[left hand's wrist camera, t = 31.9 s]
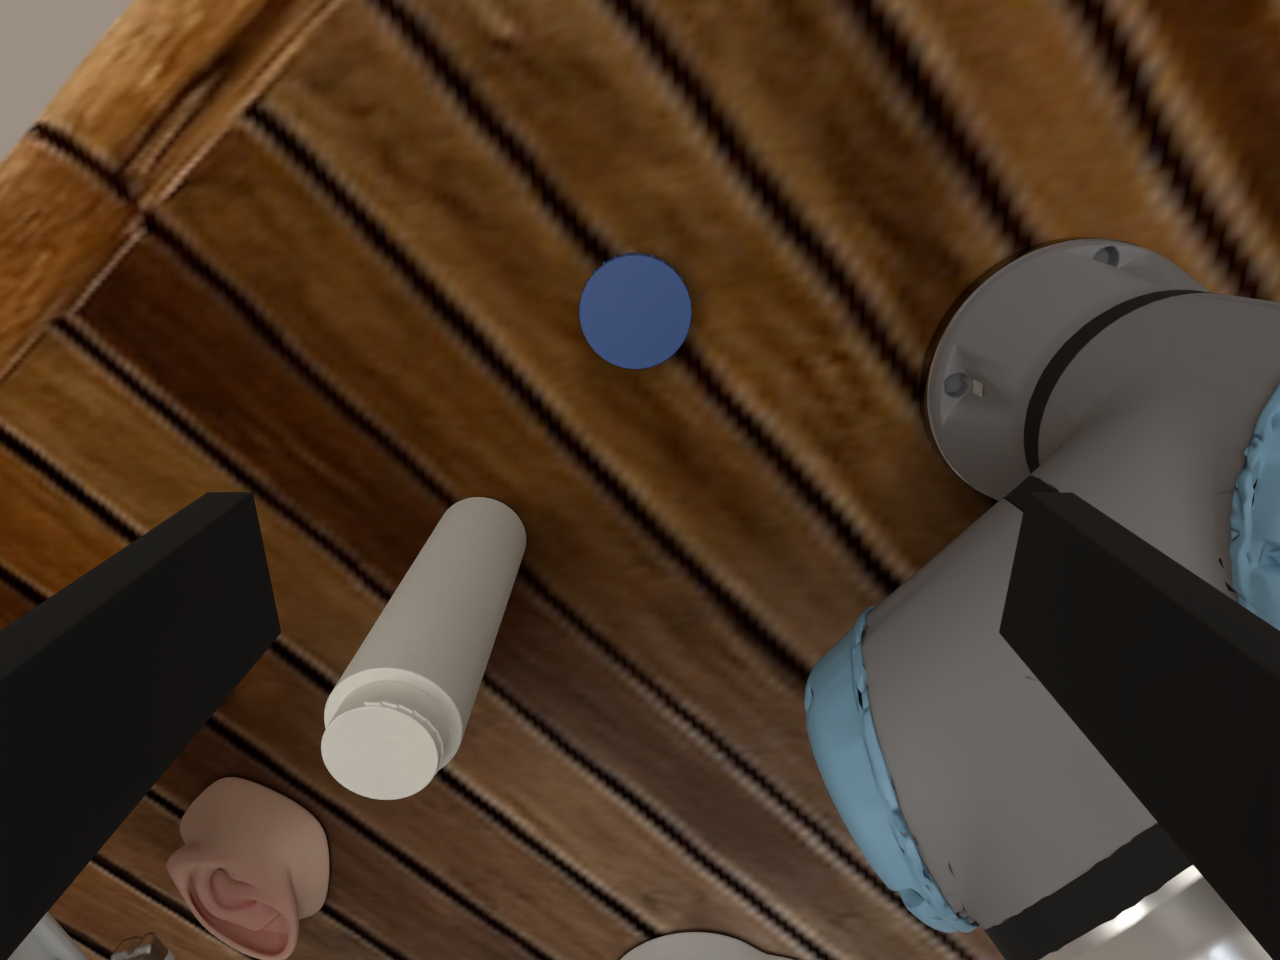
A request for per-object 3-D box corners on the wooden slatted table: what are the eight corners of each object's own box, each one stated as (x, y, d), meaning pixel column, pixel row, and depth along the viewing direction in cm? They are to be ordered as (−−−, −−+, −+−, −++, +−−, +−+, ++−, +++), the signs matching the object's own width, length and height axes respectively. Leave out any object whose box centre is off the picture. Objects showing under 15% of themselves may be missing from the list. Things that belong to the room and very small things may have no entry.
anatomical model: (155, 807, 48) (327, 848, 50) (190, 764, 52) (349, 803, 53) (138, 941, 53) (296, 976, 54) (171, 893, 57) (318, 926, 58)
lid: (563, 276, 40) (559, 279, 39) (668, 234, 40) (669, 235, 38) (604, 379, 42) (603, 386, 41) (705, 341, 42) (708, 346, 40)
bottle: (529, 576, 47) (459, 811, 29) (442, 576, 47) (318, 811, 29) (523, 496, 45) (445, 694, 27) (433, 496, 45) (294, 694, 27)
